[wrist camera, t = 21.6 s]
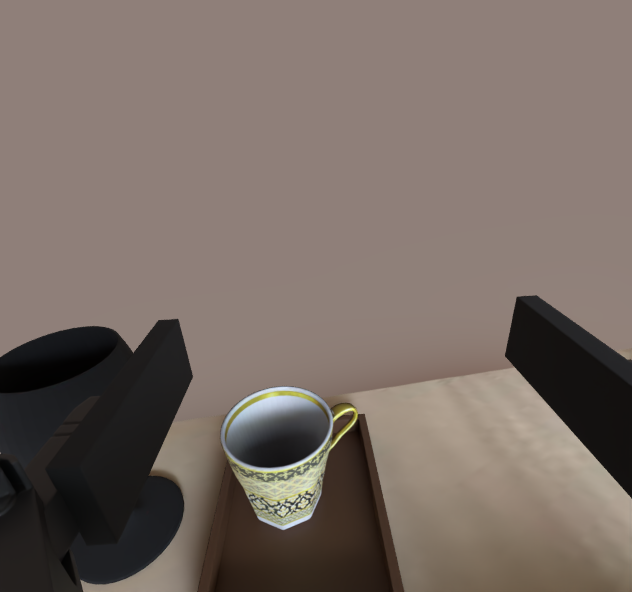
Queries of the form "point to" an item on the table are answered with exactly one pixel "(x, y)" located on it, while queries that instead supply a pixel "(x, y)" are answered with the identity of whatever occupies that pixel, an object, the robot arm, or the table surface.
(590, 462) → the table surface
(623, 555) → the table surface
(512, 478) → the table surface
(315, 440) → the ceramic cup
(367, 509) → the tray
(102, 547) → the wine glass
